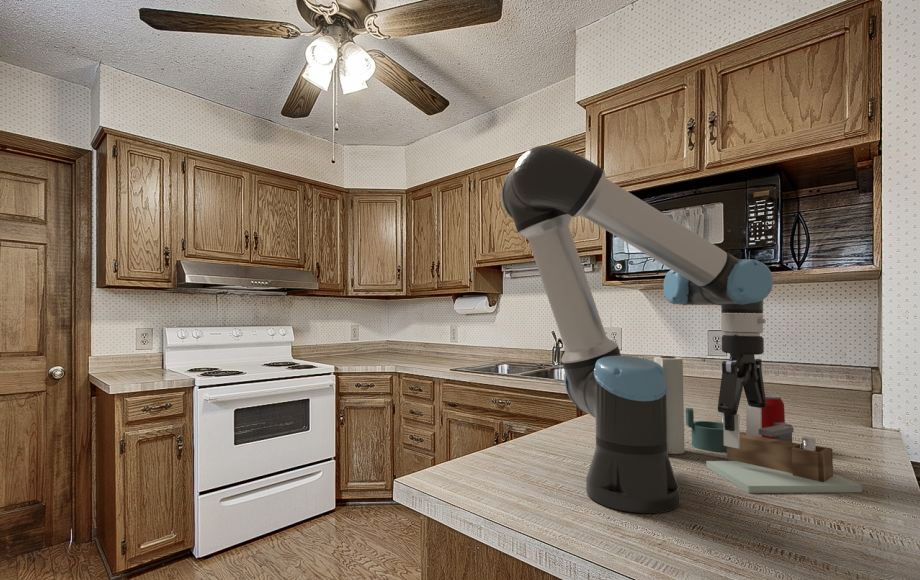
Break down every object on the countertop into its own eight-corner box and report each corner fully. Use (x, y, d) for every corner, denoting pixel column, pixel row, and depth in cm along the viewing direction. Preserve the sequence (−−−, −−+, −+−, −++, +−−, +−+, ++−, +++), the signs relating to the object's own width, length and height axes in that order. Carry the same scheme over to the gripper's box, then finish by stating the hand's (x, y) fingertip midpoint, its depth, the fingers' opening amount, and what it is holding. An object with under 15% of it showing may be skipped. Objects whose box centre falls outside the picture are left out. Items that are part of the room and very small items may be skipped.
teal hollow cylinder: (740, 448, 111) (739, 409, 112) (716, 454, 107) (715, 413, 107) (703, 439, 119) (702, 403, 120) (680, 444, 114) (679, 407, 115)
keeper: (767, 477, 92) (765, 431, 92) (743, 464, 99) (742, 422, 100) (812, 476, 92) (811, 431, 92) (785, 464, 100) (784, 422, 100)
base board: (748, 492, 84) (748, 485, 84) (706, 466, 98) (706, 461, 98) (861, 492, 84) (861, 485, 84) (803, 466, 98) (803, 460, 98)
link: (724, 459, 99) (724, 435, 99) (736, 454, 102) (735, 431, 102) (824, 482, 86) (823, 454, 86) (833, 475, 89) (832, 448, 89)
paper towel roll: (671, 446, 113) (669, 355, 114) (690, 453, 107) (688, 357, 108) (645, 449, 111) (644, 356, 112) (664, 456, 105) (662, 358, 106)
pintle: (808, 476, 89) (807, 440, 89) (800, 472, 91) (799, 437, 91) (819, 476, 89) (817, 439, 89) (811, 472, 91) (809, 437, 91)
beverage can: (790, 448, 111) (789, 396, 112) (777, 453, 108) (776, 399, 108) (759, 441, 117) (758, 392, 117) (745, 446, 113) (744, 394, 114)
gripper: (738, 336, 89) (739, 456, 88) (782, 334, 104) (784, 437, 103) (697, 334, 95) (698, 447, 94) (745, 332, 109) (746, 430, 108)
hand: (743, 442), depth 98 cm, fingers open, 10 cm apart
